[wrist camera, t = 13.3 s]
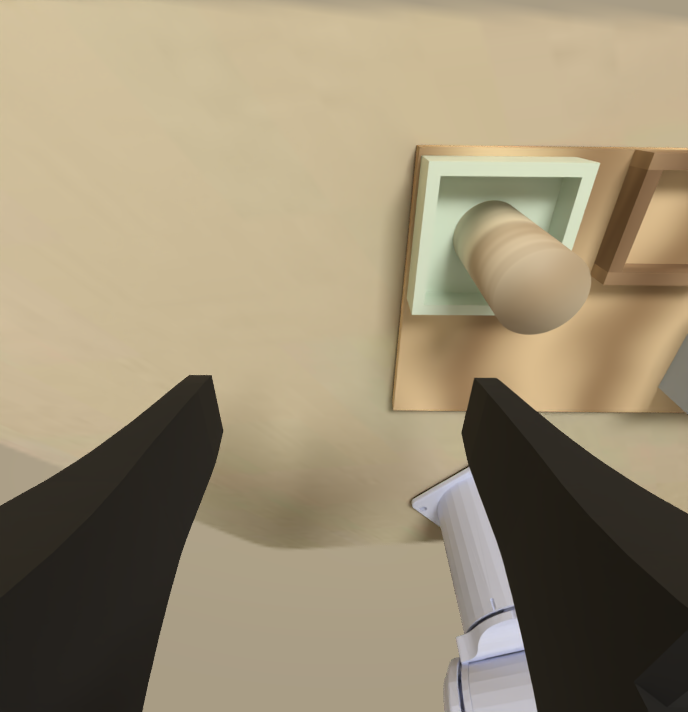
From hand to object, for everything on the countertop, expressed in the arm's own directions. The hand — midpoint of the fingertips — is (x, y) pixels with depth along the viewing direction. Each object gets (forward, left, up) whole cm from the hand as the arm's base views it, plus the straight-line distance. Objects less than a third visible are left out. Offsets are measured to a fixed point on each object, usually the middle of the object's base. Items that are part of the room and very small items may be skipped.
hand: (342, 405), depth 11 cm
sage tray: (-3, -6, -10) cm, 12 cm away
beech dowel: (-3, -6, -9) cm, 11 cm away
